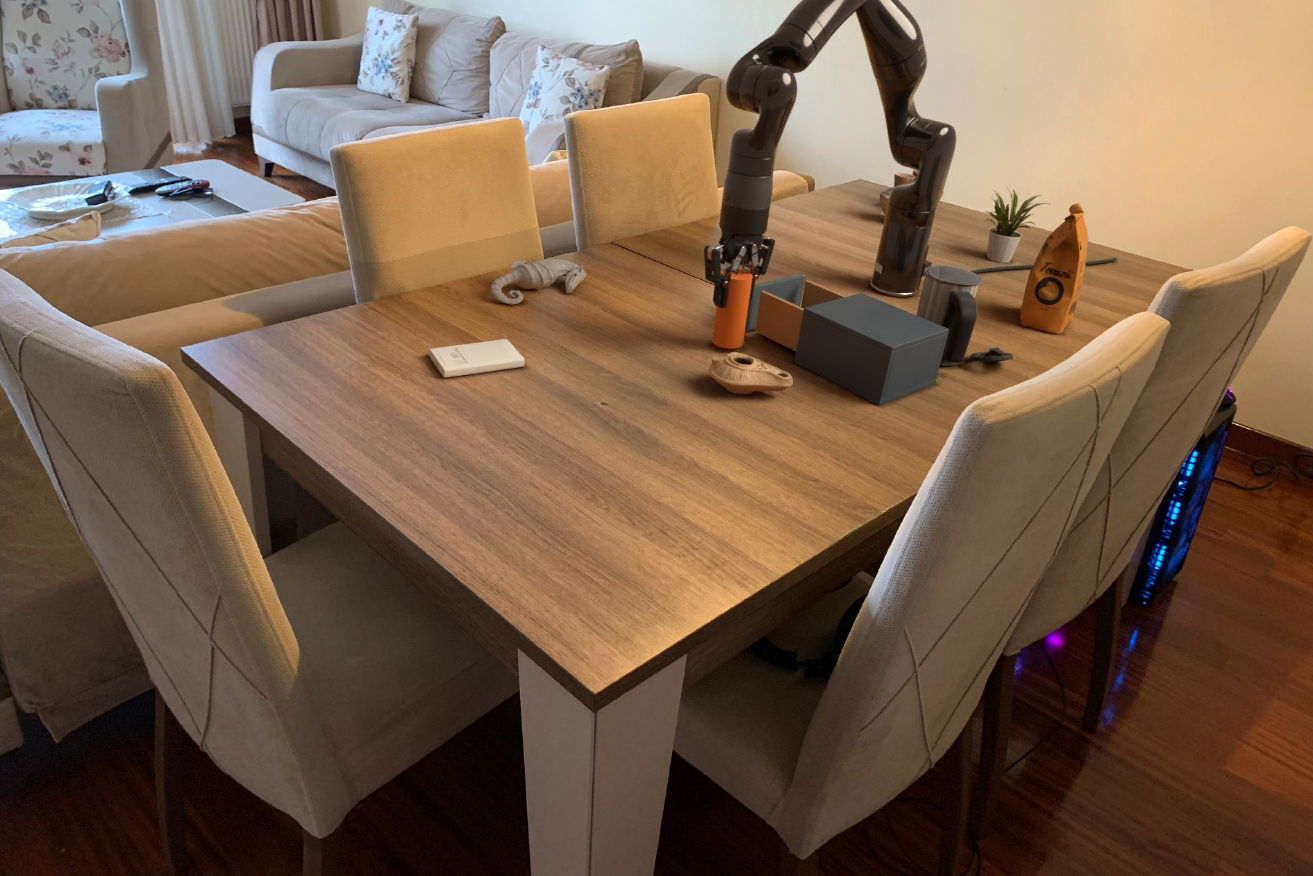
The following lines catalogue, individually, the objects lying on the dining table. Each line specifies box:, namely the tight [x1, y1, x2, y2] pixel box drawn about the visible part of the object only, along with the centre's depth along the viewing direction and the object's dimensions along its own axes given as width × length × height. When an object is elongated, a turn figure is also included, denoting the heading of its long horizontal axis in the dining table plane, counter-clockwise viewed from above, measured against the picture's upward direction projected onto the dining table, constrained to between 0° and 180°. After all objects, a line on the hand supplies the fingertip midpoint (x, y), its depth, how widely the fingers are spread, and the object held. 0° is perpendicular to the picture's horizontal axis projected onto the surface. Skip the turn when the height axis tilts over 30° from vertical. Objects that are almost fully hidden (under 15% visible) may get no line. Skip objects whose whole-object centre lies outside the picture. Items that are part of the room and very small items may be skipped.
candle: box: [711, 268, 752, 350], centre depth 150 cm, size 5×5×13 cm
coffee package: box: [1019, 203, 1089, 335], centre depth 172 cm, size 10×12×22 cm
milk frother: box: [915, 265, 1014, 367], centre depth 153 cm, size 14×16×15 cm
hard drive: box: [428, 338, 525, 379], centre depth 140 cm, size 2×8×12 cm
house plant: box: [984, 187, 1050, 264], centre depth 207 cm, size 14×14×16 cm
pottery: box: [879, 169, 945, 221], centre depth 233 cm, size 11×25×12 cm, turn 145°
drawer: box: [745, 273, 848, 352], centre depth 157 cm, size 21×13×8 cm, turn 40°
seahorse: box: [489, 257, 588, 306], centre depth 167 cm, size 5×12×20 cm
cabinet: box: [794, 292, 949, 406], centre depth 147 cm, size 18×15×10 cm
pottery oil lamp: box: [708, 351, 794, 395], centre depth 138 cm, size 9×12×7 cm
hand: (732, 302), depth 150 cm, fingers closed on candle, 5 cm apart
